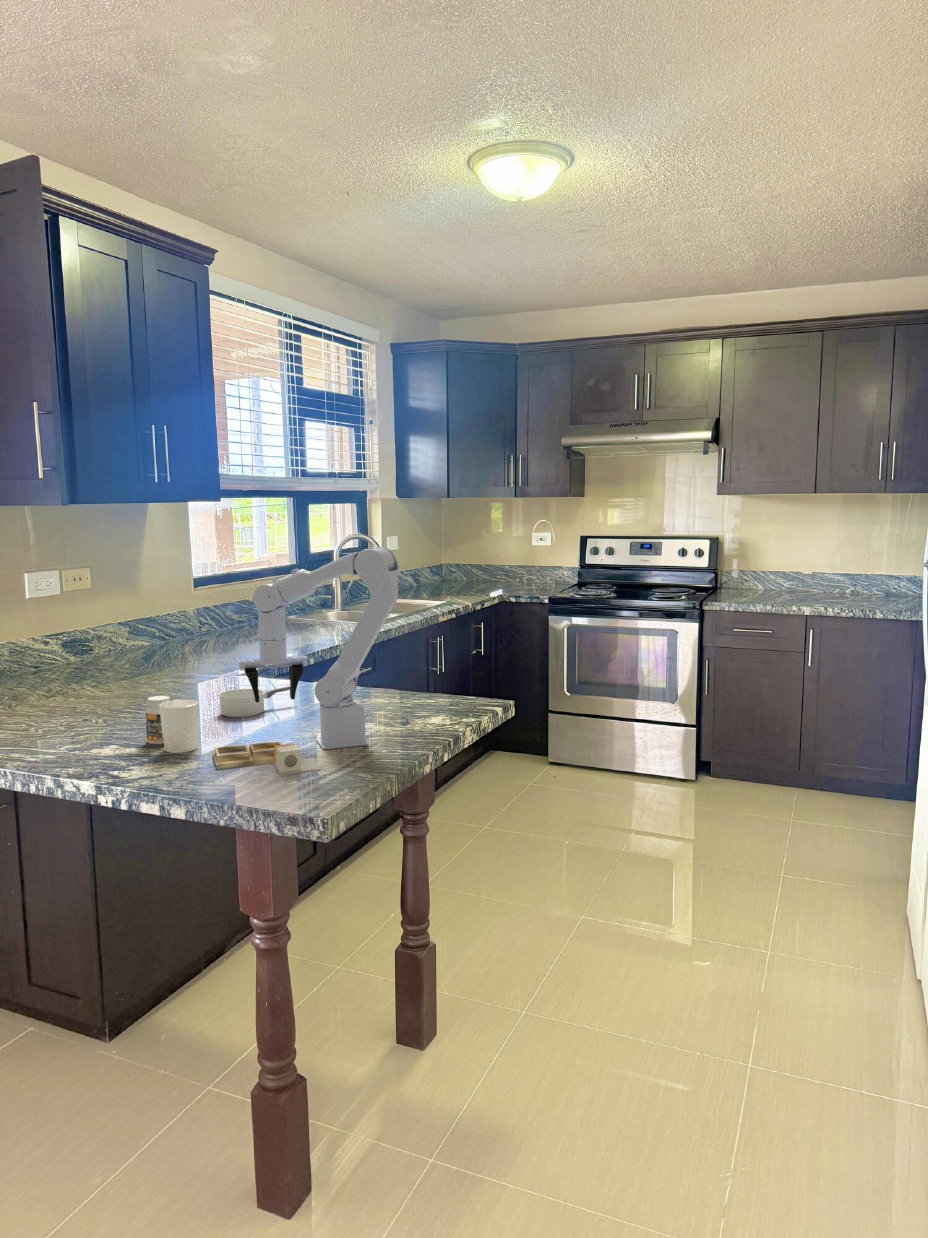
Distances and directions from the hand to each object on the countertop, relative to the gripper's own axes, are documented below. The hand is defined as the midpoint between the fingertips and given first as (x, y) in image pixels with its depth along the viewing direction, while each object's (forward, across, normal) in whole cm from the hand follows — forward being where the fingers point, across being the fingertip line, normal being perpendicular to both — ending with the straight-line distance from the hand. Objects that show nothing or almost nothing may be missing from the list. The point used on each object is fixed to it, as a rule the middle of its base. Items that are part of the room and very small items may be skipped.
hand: (274, 700), depth 185 cm
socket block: (+9, +7, +11) cm, 16 cm away
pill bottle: (+10, +24, -10) cm, 28 cm away
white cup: (+10, +20, -2) cm, 22 cm away
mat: (+9, -1, +21) cm, 23 cm away
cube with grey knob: (+7, +1, +19) cm, 20 cm away
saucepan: (+10, 0, -30) cm, 32 cm away
